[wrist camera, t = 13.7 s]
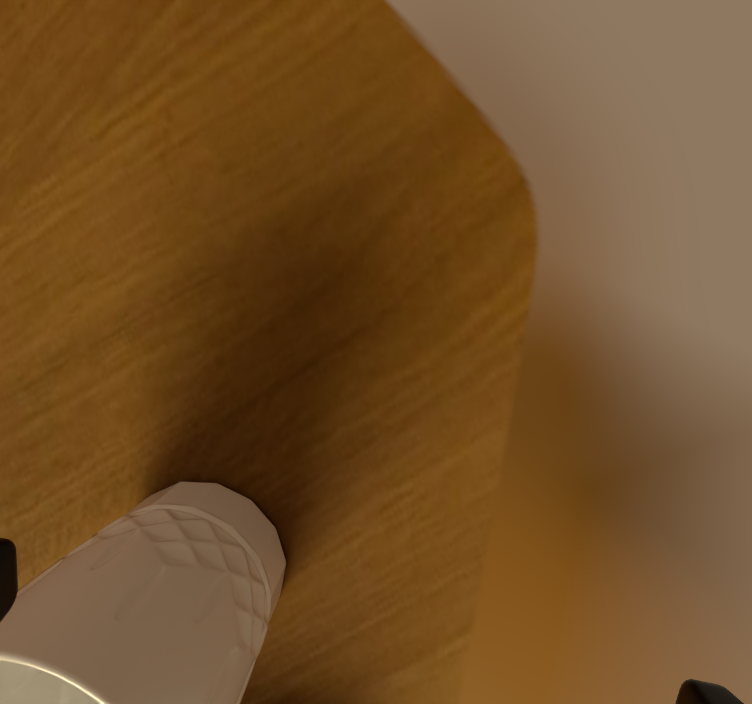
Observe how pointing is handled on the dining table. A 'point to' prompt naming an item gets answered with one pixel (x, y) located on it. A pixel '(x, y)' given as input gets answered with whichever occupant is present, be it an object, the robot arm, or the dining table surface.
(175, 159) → the dining table surface
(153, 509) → the white cup
